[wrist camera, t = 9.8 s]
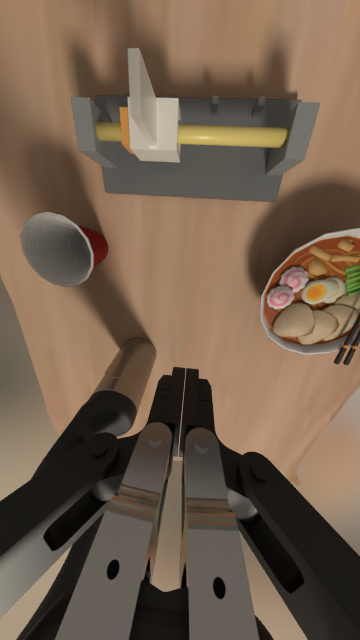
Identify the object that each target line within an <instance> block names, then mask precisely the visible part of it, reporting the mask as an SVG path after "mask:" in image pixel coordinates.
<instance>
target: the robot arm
mask: <svg viewBox="0 0 360 640" xmlns="http://www.w3.org/2000/svg"><path fill="white" fill-rule="evenodd" d="M155 359H156V350H155V348H154V346H153V345H152V344H151V343H150V342H148V341H146V340H144V339H140V338H134V339H131V340H129V341H127V342H126V343H125V345H124V346H123V348H122V349H120V351H119V352H118V354H117V355H116V357H115V358H114V360H113V361H112V363H111V364H110V366H109V367H108V369H107V370H106V372H105V375H104V377H103V378H102V380H101V382H100V383H99V385H98V386H97V388H96V389H95V391H94V392H93V394H92V396H91V397H90V398H89V400H88V401H87V402H86V403H85V404H84V405H83V406H82V407H81V408H80V410H79V411H78V413H77V414H76V415H75V417H74V418H73V420H72V421H71V422H70V424H69V425H68V426H67V428H66V429H65V431H64V432H63V433H62V435H61V436H60V437H59V439H58V440H57V441H56V443H55V444H54V445H53V447H52V448H51V449H50V451H49V452H48V454H47V455H46V457H45V458H44V459H43V461H42V462H41V464H40V465H39V467H38V468H37V470H36V472H35V473H34V475H33V477H32V478H31V480H30V481H28V482H27V483H26V484H24V485H23V486H21V487H20V488H18V489H17V490H16V491H14V492H13V493H11V494H10V495H8V496H7V497H6V498H4V499H3V500H1V501H0V618H1V617H2V616H3V615H4V614H5V613H6V612H7V611H8V610H9V609H10V608H11V607H12V606H13V605H14V604H15V603H16V602H17V601H18V600H19V599H20V598H21V597H22V596H23V595H24V594H25V593H26V592H27V591H28V590H29V589H30V588H31V587H32V585H34V583H35V582H36V581H37V580H38V579H39V578H40V577H41V576H42V575H43V574H44V573H45V572H46V571H47V570H48V569H49V568H50V567H51V566H52V565H53V564H54V563H55V562H56V561H57V560H58V559H59V558H60V557H61V556H62V555H63V554H64V553H65V552H66V551H67V550H68V548H70V547H71V546H72V547H71V549H70V552H69V554H68V556H67V558H66V560H65V562H64V564H63V566H62V568H61V570H60V572H59V573H58V575H57V577H56V579H55V581H54V583H53V585H52V586H51V588H50V590H49V591H48V593H47V595H46V596H45V598H44V600H43V601H42V603H41V604H40V606H39V607H38V609H37V611H36V612H35V614H34V615H33V617H32V618H31V619H30V621H29V622H28V624H27V625H26V627H25V628H24V630H23V631H22V632H21V634H20V635H19V637H18V638H17V640H273V638H272V636H271V635H270V633H269V632H268V630H267V629H266V628H265V626H264V625H263V624H262V622H261V621H260V620H259V619H258V618H257V617H256V616H255V614H254V609H253V604H252V599H251V593H250V588H249V582H248V577H247V572H246V566H245V561H244V556H243V552H242V545H241V540H240V535H239V530H240V532H241V534H242V535H243V537H244V539H245V540H246V542H247V543H248V545H249V547H250V548H251V550H252V551H253V553H254V555H255V556H256V558H257V559H258V561H259V562H260V564H261V565H262V567H263V569H264V570H265V572H266V574H267V575H268V577H269V578H270V580H271V582H272V583H273V585H274V586H275V588H276V590H277V591H278V593H279V594H280V596H281V597H282V599H283V601H284V602H285V604H286V605H287V607H288V609H289V610H290V611H291V613H292V615H293V616H294V618H295V620H296V621H297V623H298V625H299V626H300V627H301V629H302V631H303V632H304V634H305V635H306V637H307V639H308V640H360V556H359V555H358V554H357V553H356V552H355V551H354V550H353V549H352V548H351V547H350V546H349V545H348V544H347V542H346V541H345V540H344V539H343V538H342V537H341V536H340V535H339V534H338V533H337V532H336V531H335V530H334V529H333V528H332V527H331V525H330V524H329V523H328V522H327V521H326V520H325V519H324V518H323V517H322V516H321V515H320V514H319V513H318V512H317V511H316V510H315V509H314V507H312V505H311V504H310V503H309V502H308V501H307V500H306V499H305V498H304V497H303V496H302V495H301V494H300V493H299V492H298V491H297V490H296V488H294V486H293V485H292V484H291V483H290V482H289V481H288V480H287V479H286V478H285V477H284V476H283V475H282V474H281V472H280V471H279V470H278V469H277V468H276V467H275V466H274V465H273V464H272V463H271V462H270V461H269V460H268V459H267V458H266V457H265V456H263V455H261V454H259V453H257V452H247V453H245V454H243V455H241V454H239V453H237V452H235V451H233V450H231V449H229V448H227V447H226V446H224V445H223V444H222V443H221V441H220V440H219V439H218V437H217V435H216V432H215V426H214V414H213V403H212V391H211V385H210V384H209V382H208V380H207V379H199V369H190V368H187V369H186V380H185V368H180V367H173V372H172V376H171V375H163V376H162V377H161V379H160V380H159V381H158V385H157V389H156V392H155V396H154V399H153V403H152V407H151V410H150V414H149V418H148V421H147V424H146V425H145V427H144V428H143V429H142V430H141V431H140V432H139V433H137V434H135V435H133V436H129V437H125V438H120V439H117V438H116V437H117V436H121V435H123V434H125V433H127V432H128V431H129V430H130V429H131V427H132V426H133V423H134V421H135V418H136V415H137V412H138V409H139V406H140V403H141V400H142V397H143V394H144V391H145V388H146V385H147V382H148V379H149V376H150V373H151V371H152V368H153V365H154V362H155ZM184 380H185V391H184ZM183 391H184V402H183ZM182 402H183V414H182V425H181V437H180V448H179V457H183V464H182V475H181V545H180V546H181V547H180V587H179V589H176V590H173V591H169V592H163V591H161V590H159V589H158V588H156V587H155V586H153V585H152V584H151V582H152V576H153V571H154V565H155V559H156V552H157V546H158V538H159V532H160V526H161V521H162V515H163V510H164V505H165V499H166V494H167V488H168V483H169V477H170V474H171V469H172V461H173V456H176V457H177V455H178V444H179V433H180V423H181V412H182Z"/></svg>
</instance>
